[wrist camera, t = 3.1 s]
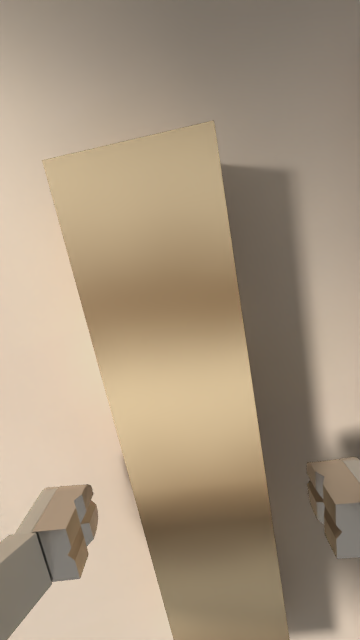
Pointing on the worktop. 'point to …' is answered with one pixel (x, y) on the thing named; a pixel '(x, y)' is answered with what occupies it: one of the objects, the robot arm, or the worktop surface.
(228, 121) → the worktop surface
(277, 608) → the pine slat
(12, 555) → the robot arm
